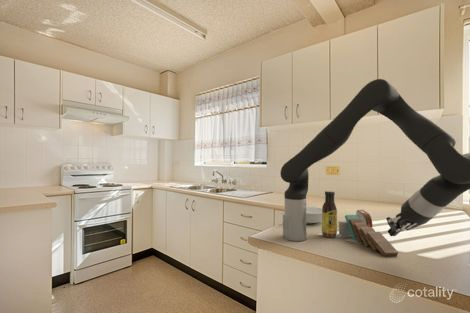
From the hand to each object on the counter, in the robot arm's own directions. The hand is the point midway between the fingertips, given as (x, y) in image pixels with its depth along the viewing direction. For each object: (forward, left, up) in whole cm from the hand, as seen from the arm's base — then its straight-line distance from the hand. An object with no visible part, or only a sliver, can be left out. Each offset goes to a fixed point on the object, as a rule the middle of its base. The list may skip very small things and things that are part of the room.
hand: (390, 233), depth 80 cm
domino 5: (0, 0, -7) cm, 7 cm away
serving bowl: (-5, +48, -8) cm, 49 cm away
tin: (+16, +31, -8) cm, 36 cm away
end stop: (+2, +23, -8) cm, 24 cm away
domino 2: (+1, +13, -7) cm, 15 cm away
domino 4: (0, +4, -7) cm, 8 cm away
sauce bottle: (-8, +24, -8) cm, 26 cm away
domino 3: (+1, +9, -7) cm, 11 cm away
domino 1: (+2, +17, -7) cm, 18 cm away
